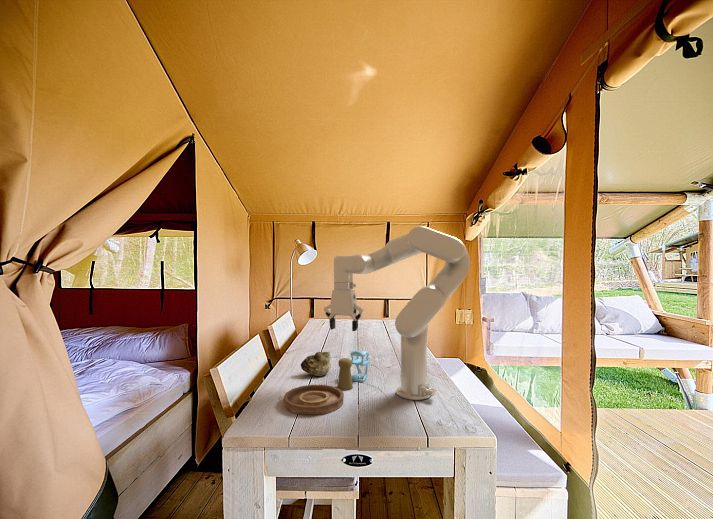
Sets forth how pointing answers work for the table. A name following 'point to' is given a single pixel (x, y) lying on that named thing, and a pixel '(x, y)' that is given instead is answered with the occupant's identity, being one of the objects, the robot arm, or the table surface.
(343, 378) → the cork
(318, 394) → the ring tray
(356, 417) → the table surface
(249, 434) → the table surface
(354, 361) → the chair
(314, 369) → the seashell
